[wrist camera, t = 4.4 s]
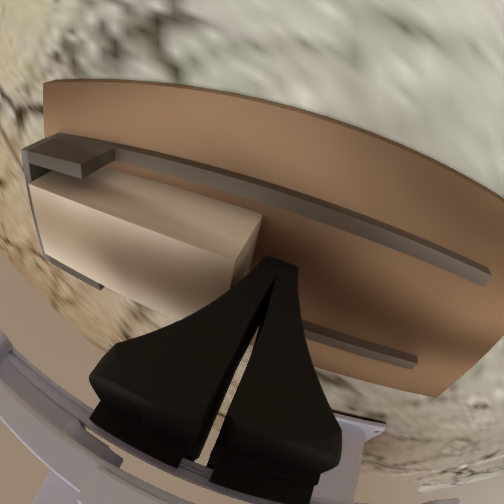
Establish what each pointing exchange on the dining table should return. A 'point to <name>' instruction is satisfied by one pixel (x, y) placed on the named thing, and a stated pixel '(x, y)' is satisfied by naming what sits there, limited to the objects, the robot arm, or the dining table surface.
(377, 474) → the dining table surface
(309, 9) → the dining table surface
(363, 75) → the dining table surface
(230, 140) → the board
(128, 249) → the cream rectangular block
